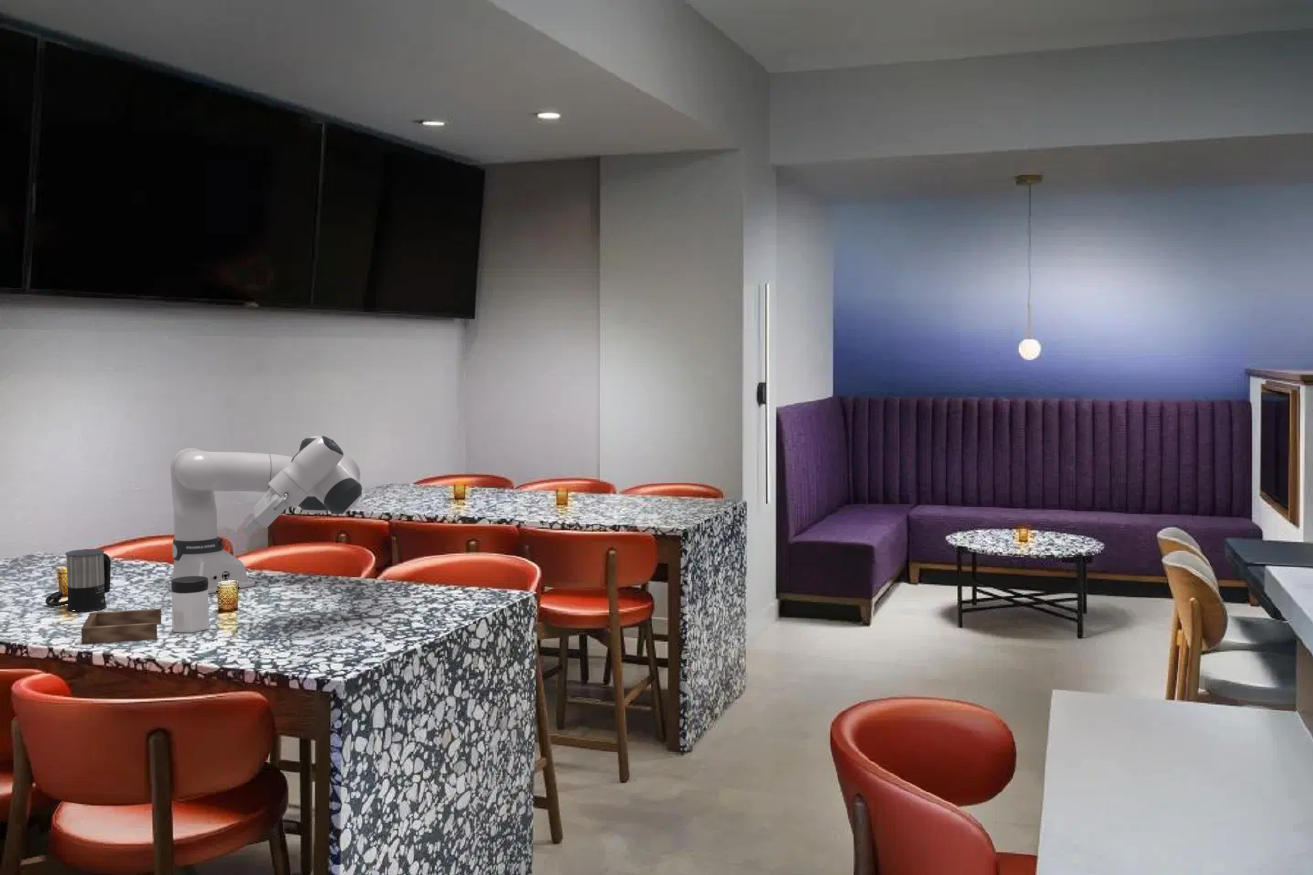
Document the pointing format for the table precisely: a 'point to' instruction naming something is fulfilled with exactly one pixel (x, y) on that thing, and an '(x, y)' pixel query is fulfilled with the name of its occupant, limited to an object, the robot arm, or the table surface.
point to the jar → (190, 604)
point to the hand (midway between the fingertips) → (244, 532)
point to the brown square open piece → (121, 626)
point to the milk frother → (85, 580)
